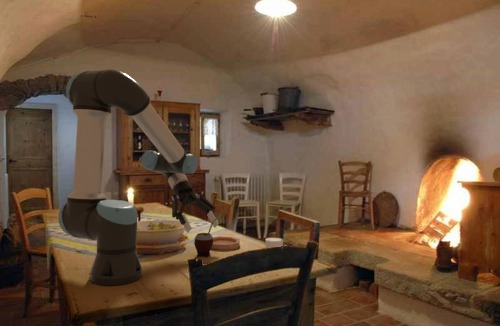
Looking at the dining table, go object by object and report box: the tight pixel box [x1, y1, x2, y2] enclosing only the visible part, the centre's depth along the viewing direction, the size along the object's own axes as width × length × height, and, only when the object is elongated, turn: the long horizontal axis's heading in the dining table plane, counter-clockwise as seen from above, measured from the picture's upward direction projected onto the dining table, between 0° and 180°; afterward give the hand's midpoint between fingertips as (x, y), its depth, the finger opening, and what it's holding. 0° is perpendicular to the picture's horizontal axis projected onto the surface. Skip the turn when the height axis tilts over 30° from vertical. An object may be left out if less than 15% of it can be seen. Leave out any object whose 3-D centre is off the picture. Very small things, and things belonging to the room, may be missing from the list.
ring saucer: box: [211, 235, 241, 251], centre depth 161 cm, size 14×14×2 cm
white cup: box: [265, 237, 284, 249], centre depth 145 cm, size 7×7×7 cm
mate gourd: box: [193, 216, 220, 258], centre depth 146 cm, size 8×8×15 cm
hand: (203, 228), depth 149 cm, fingers open, 13 cm apart
